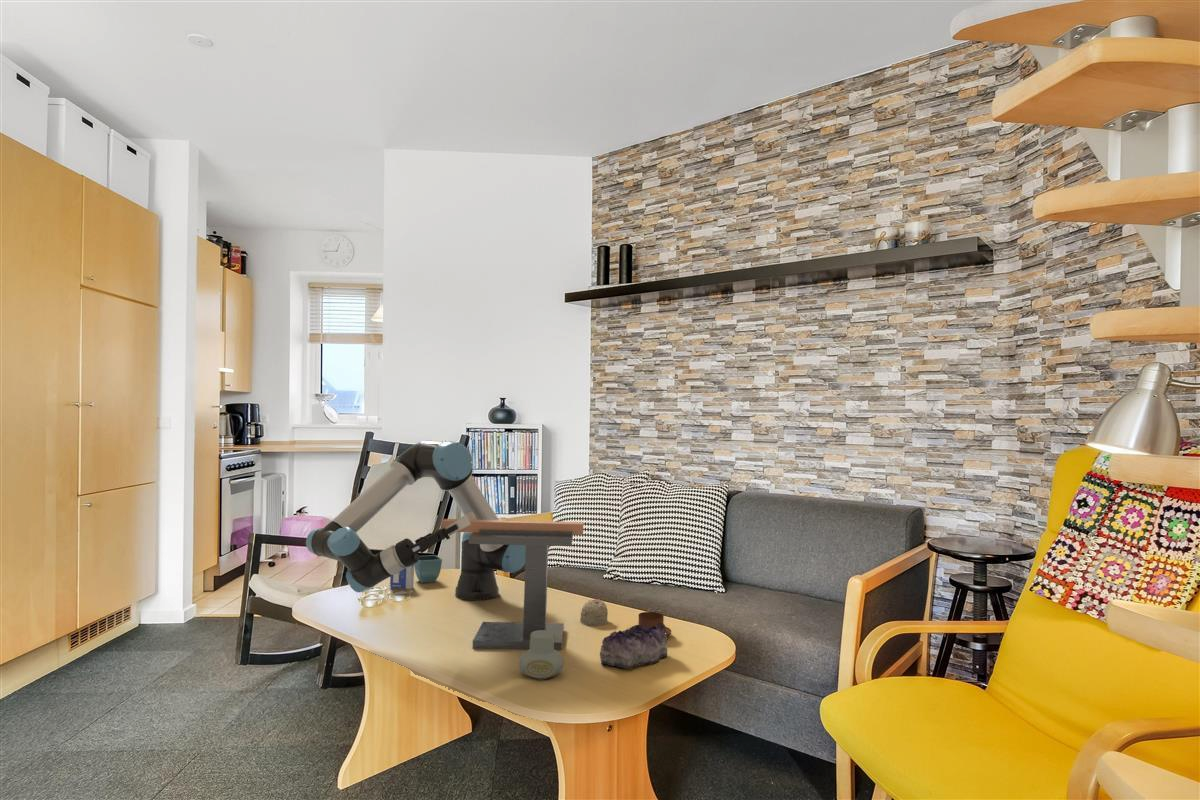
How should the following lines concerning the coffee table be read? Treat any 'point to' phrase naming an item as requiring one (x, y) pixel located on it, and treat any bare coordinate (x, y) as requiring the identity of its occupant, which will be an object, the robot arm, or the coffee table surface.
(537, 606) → the stand
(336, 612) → the coffee table surface
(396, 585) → the walkman
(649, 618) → the cup and saucer
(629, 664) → the geode
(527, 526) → the block
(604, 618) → the beige rough dome
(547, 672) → the air freshener
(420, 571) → the flower pot
